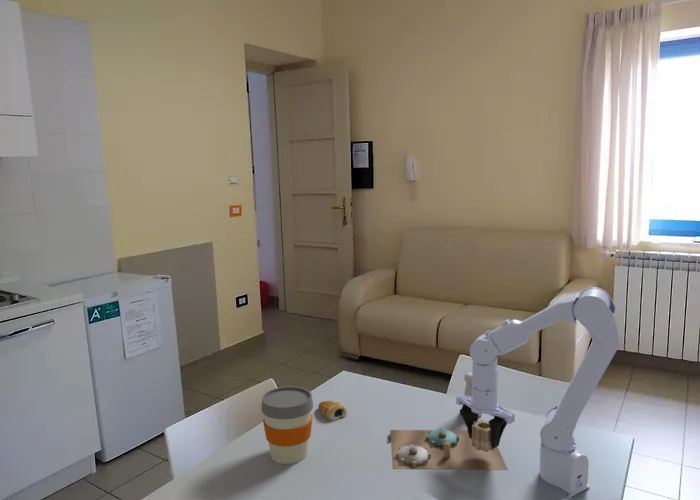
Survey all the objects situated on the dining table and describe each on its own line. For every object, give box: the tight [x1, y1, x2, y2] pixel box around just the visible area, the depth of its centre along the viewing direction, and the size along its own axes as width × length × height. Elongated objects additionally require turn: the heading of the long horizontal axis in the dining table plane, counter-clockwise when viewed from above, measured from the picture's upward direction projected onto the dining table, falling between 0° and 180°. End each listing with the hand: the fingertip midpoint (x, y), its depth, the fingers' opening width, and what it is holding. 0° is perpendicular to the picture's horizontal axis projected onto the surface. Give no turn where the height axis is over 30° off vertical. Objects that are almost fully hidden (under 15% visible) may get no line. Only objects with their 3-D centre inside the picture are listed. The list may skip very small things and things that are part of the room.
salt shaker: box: [460, 371, 483, 418], centre depth 143 cm, size 6×6×13 cm
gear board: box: [389, 427, 509, 471], centre depth 125 cm, size 26×18×5 cm
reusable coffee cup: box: [261, 385, 314, 465], centre depth 126 cm, size 13×13×15 cm
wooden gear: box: [472, 419, 495, 452], centre depth 120 cm, size 6×6×5 cm
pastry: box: [317, 400, 348, 422], centre depth 148 cm, size 9×7×4 cm
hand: (483, 441), depth 121 cm, fingers closed on wooden gear, 5 cm apart
